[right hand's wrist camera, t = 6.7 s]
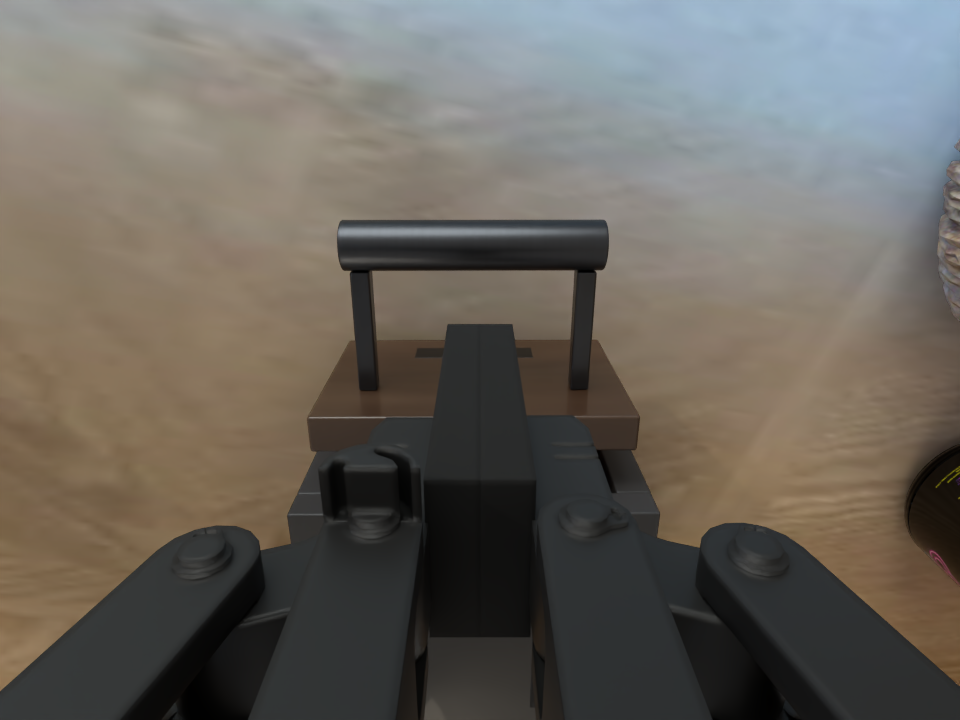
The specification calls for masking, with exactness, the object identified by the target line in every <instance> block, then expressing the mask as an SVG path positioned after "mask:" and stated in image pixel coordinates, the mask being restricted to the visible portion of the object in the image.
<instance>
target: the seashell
mask: <svg viewBox="0 0 960 720" xmlns="http://www.w3.org/2000/svg"><path fill="white" fill-rule="evenodd" d="M954 147H955V148H956V149H957V150H958V151H959V152H960V139H959V141H958V142H957V144H956V145H955V146H954ZM947 176H948V177H949V178H950V179H952V180H951V181H949V182H948V183H947V184H946V185H945V186H944V187H943V190H944V193H943V196H944V197H945V200H944V205H943V210H944V212H945V213H946V214H944V215H942V216H941V219H940V222H939V237H938V239H939V242H938V250H937V255H938V257H939V264H938V273H939V276H940V279H941V280H942V281H943V282H944V284H943V289H944V292H945V296H946V300H947V302H948V304H949V305H950V307H951V312H952V314H953V315H954V316H955V317H956V318H957V319H958V320H959V321H960V161H952V162H951V164H950V165H949V167H948V168H947Z"/></svg>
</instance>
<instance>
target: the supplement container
mask: <svg viewBox="0 0 960 720" xmlns="http://www.w3.org/2000/svg"><path fill="white" fill-rule="evenodd" d="M904 516H905V522H906V526H907V529H908V531H909V534H910V536H911V538H912V539H913V541H914V542H915V543H916V544H917V546H918V547H920V548H921V549H922V550H923V551H924V552H925V553H926V554H927V555H928V556H929V557H930V558H931V559H932V560H933V561H934V562H935V563H936V564H937V565H938V566H939V567H940V568H941V569H942V570H943V571H944V572H945V573H946V574H947V575H948V576H949V577H950V578H951V579H952V580H953V581H954V582H955V583H957V584H958V585H959V586H960V444H959V445H956V446H954V447H952V448H950V449H948V450H946V451H944V452H943V453H941V454H939V455H938V456H937V457H935V458H934V459H933V460H931V461H930V462H929V463H928V464H927V465H926V466H925V467H924V468H923V469H922V470H921V471H920V472H919V474H918V475H917V476H916V478H915V479H914V481H913V483H912V484H911V486H910V488H909V491H908V494H907V497H906V501H905V508H904Z"/></svg>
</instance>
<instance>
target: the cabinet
mask: <svg viewBox="0 0 960 720" xmlns="http://www.w3.org/2000/svg"><path fill="white" fill-rule="evenodd" d="M596 451H597V453H598V459H600V462H601V465H602V468H603V471H604V473H605V476H606V479H607V482H608V485H609V488H610V490H611V493H612V496H613V499H614V501H616V502H617V503H619V504H620V505H622V506H623V507H625V508H626V509H628V510H629V511H630V513H631V514H632V516H633V517H634V518H635V520H636V522H637V524H638V527H639V529H640V531H642V532H644V533H646V534H648V535H651V536H653V537H655V538H657V533H658V526H659V518H660V512H659V510H658V508H657V506H656V503H655V501H654V499H653V497H652V495H651V494H650V493H651V492H650V490H649V488H648V486H647V484H646V481H645V479H644V477H643V475H642V473H641V471H640V469H639V466H638V464H637V462H636V460H635V458H634V456H633V454H632V452H631V450H596ZM336 452H338V451H317V453H316V455H315V457H314V459H313V462H312V464H311V466H310V468H309V470H308V472H307V474H306V477H305V479H304V481H303V483H302V485H301V487H300V489H299V491H298V494H297V496H296V498H295V500H294V502H293V504H292V506H291V508H290V510H289V512H288V515H287V517H288V524H289V531H290V538H291V544H293V543H296V542H300V541H303V540H307V539H309V538H311V537H313V536H315V535H318V534H319V533H320V530H321V528H322V525H323V522H324V519H323V510H322V501H321V493H320V484H319V475H318V467H319V466H320V465H321V464H322V463H323V461H324V460H325V459H326V458H327V457H329V456H331V455H333V454H334V453H336ZM532 640H533V639H532V629H531V634H530V637H430V634H429V632H428V664H429V670H428V681H427V693H426V704H425V715H424V720H536V714H535V708H530V688H531V664H532Z"/></svg>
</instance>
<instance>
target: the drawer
mask: <svg viewBox="0 0 960 720" xmlns="http://www.w3.org/2000/svg"><path fill="white" fill-rule="evenodd" d="M337 248H338V257H339V262H340V265H341V268H342V269H343V270H344V271H351V272H350V282H351V295H352V307H353V319H354V332H355V341H350V342H349V343H348V345H347V347H346V349H345V351H344V352H343V354H342V356H341V358H340V360H339V361H338V363H337V365H336V367H335V369H334V370H333V372H332V374H331V376H330V378H329V379H328V381H327V383H326V385H325V387H324V388H323V390H322V392H321V394H320V396H319V397H318V399H317V401H316V403H315V405H314V407H313V408H312V410H311V412H310V414H309V416H308V418H307V423H308V432H309V440H310V448H311V451H340V450H342V449H345V448H349V447H352V446H356V445H361V444H367V442H368V439H369V436H370V433H371V430H372V429H374V428H375V427H376V426H377V425H378V424H380V423H381V422H382V421H383V420H384V419H385V418H387V417H433V415H434V409H435V403H436V396H437V390H438V383H439V377H440V371H441V364H442V358H443V352H444V345H445V340H388V341H377V339H376V324H375V309H374V294H373V279H372V271H454V270H575V273H574V290H573V307H572V324H571V340H515V345H516V352H517V358H518V364H519V371H520V377H521V383H522V390H523V396H524V403H525V409H526V415H573V416H575V417H576V418H577V419H578V420H579V421H581V422H582V423H583V424H584V425H585V426H587V427H588V428H589V431H590V433H591V436H592V439H593V442H594V446H595V448H596V450H636V448H637V440H638V431H639V422H640V416H639V414H638V413H637V411H636V409H635V407H634V405H633V403H632V402H631V400H630V398H629V396H628V394H627V393H626V391H625V389H624V387H623V385H622V383H621V382H620V380H619V378H618V376H617V374H616V373H615V371H614V369H613V367H612V365H611V363H610V362H609V360H608V358H607V356H606V354H605V353H604V351H603V349H602V347H601V345H600V343H599V342H598V340H592V330H593V316H594V302H595V288H596V275H597V274H596V271H595V270H603V269H604V268H605V266H606V262H607V258H608V249H609V234H608V227H607V223H606V221H605V220H342V221H340V223H339V227H338V234H337Z"/></svg>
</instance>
